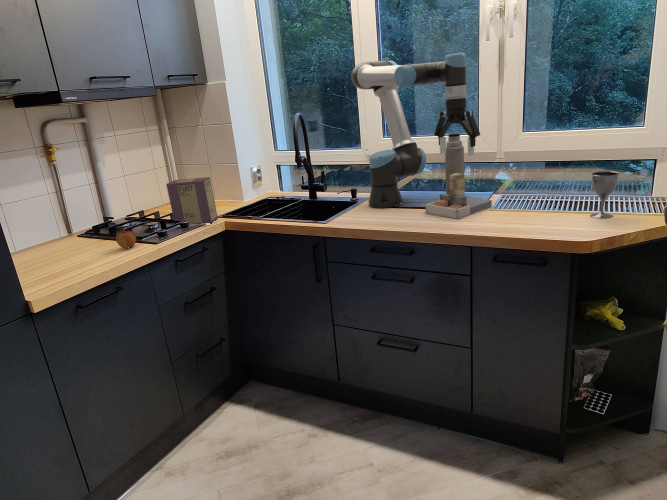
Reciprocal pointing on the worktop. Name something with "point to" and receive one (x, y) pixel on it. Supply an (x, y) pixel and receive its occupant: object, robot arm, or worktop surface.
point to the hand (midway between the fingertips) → (456, 154)
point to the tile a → (441, 203)
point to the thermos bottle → (453, 158)
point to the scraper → (456, 190)
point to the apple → (126, 239)
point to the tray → (447, 211)
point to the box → (192, 200)
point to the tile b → (455, 206)
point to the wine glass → (604, 189)
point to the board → (477, 204)
